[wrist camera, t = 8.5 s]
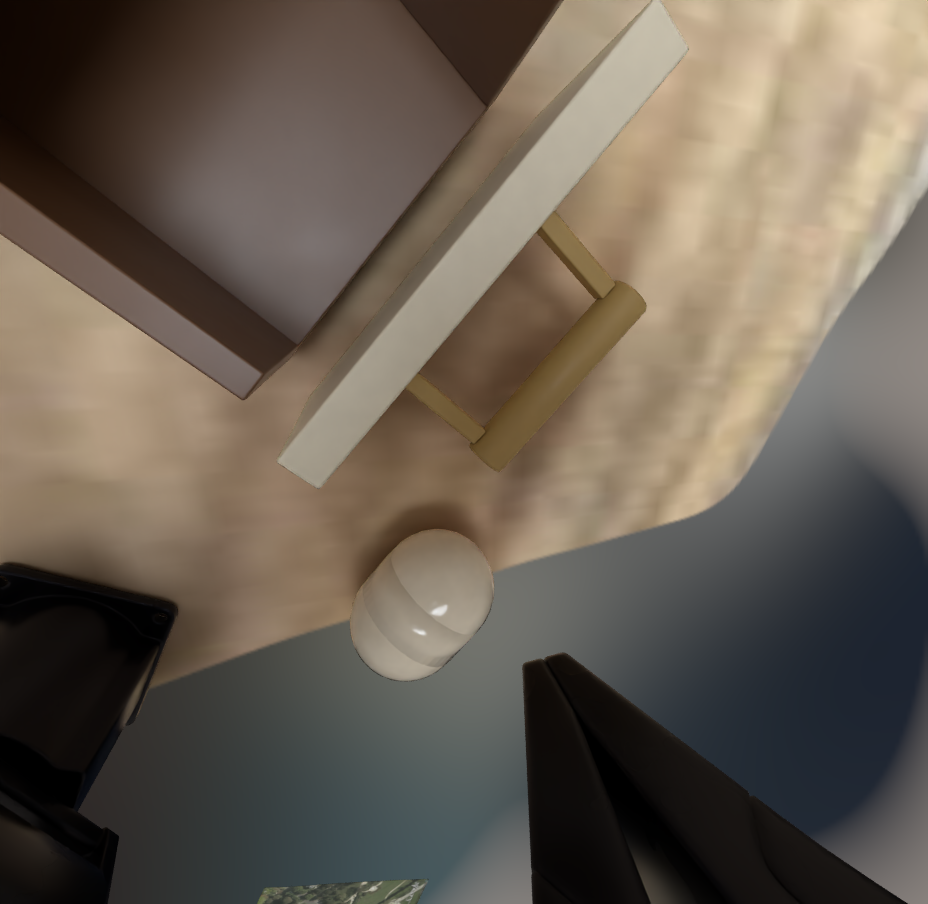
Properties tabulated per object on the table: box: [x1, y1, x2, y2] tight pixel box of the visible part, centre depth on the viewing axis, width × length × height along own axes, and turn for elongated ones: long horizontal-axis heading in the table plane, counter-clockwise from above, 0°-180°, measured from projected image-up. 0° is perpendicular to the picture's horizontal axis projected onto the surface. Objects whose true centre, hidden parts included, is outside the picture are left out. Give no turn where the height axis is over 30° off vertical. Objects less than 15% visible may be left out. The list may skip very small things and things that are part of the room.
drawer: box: [0, 0, 689, 489], centre depth 11 cm, size 19×12×7 cm, turn 48°
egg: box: [350, 529, 494, 682], centre depth 19 cm, size 7×5×5 cm
